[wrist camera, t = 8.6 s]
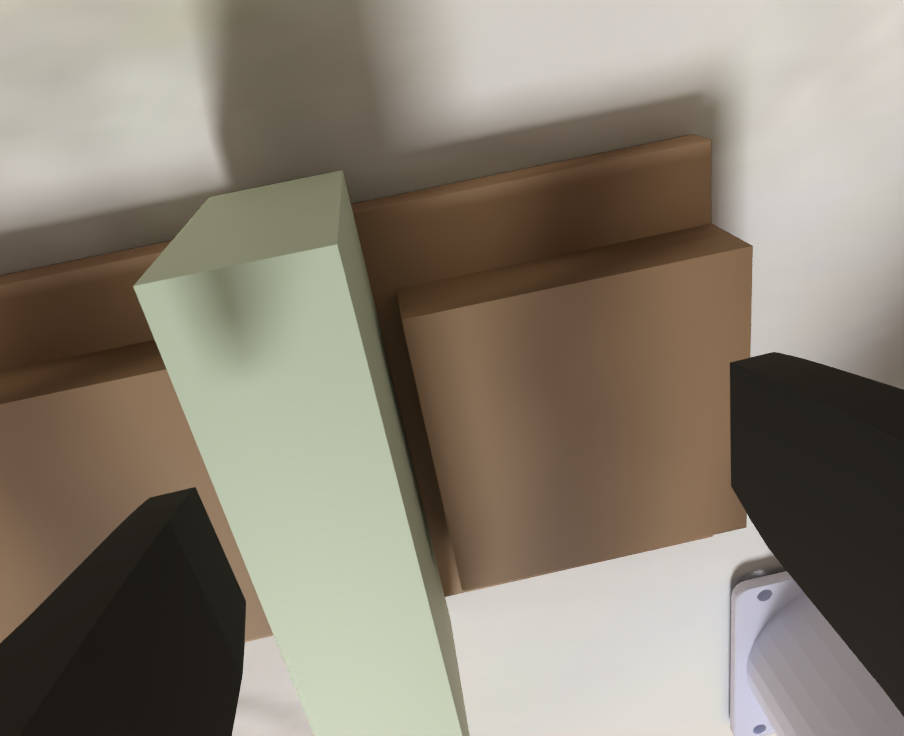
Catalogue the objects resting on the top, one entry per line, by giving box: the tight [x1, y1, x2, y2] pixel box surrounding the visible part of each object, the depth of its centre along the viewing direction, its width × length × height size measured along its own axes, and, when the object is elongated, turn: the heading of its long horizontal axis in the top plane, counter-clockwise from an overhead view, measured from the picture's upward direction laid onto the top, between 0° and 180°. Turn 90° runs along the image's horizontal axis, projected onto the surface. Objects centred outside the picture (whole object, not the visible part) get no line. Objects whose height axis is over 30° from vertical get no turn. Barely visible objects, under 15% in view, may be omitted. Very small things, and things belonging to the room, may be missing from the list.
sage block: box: [133, 170, 469, 736], centre depth 16 cm, size 14×3×6 cm, turn 10°
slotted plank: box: [0, 134, 753, 643], centre depth 18 cm, size 20×12×3 cm, turn 100°
